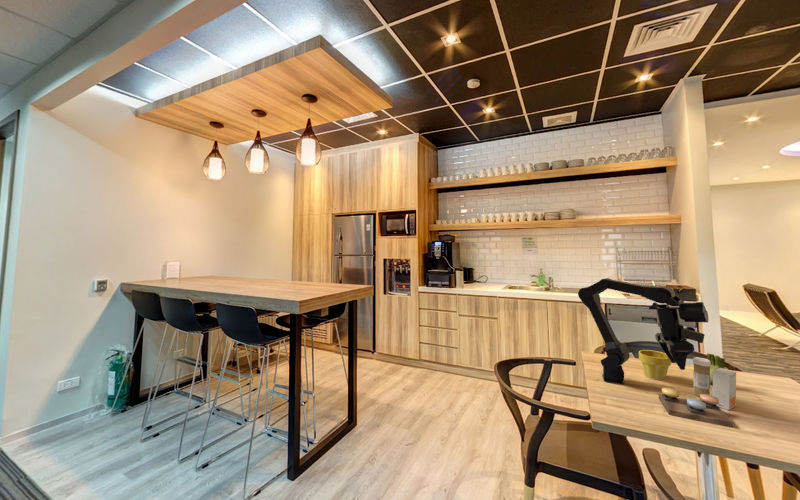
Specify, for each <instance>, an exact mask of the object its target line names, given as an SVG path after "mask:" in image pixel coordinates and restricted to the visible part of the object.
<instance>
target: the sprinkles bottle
mask: <svg viewBox="0 0 800 500" xmlns="http://www.w3.org/2000/svg"><path fill="white" fill-rule="evenodd" d="M692 363H693V379H692V380H693V392H692V393H693V394H694V396H697V397H699V398H700V394H707V395H711V384H710V366H711V362H710V360H708V359H707V358H703V357H697V356H696V357H693V358H692Z"/></svg>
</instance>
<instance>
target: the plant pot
mask: <svg viewBox="0 0 800 500" xmlns="http://www.w3.org/2000/svg"><path fill="white" fill-rule="evenodd" d="M638 359H639V361H640V362H641V367H642V370H643V375H644V376H645V377H647V378H649V379H651V380H654V381H664V380H666V376H667V374H668V370H669V367H670V366H671V365H672V362H671V361H670V359H669V358H668V356H667V355H666V353H665V352H662V351H658V350H657V351H656V350H650V349H642V350H639V351H638Z"/></svg>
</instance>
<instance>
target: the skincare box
mask: <svg viewBox="0 0 800 500" xmlns="http://www.w3.org/2000/svg"><path fill="white" fill-rule="evenodd" d="M712 396H714V397H716V398H718V399H719V404H716V405H717V406H718V407H719V408H720V409H721V408H722V409H723V410H727V411H729V410H732V409H733V408H735V407H736V404H737V403H736V398H737V371H733V370H730V369H726V368H724V369H723V368H719V369H716V370H714V371H713V385H712Z"/></svg>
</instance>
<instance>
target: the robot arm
mask: <svg viewBox="0 0 800 500" xmlns="http://www.w3.org/2000/svg"><path fill="white" fill-rule="evenodd" d="M608 289H609V290H612V291H618V292H620V293H621V292H623V293H626V294H632V295H635V296H641V297H643V298H645V299H647V300H650V301H653V303H652V305H650V306H649V307H648V309H649V310H656V315H657V319H658V323H657V326H658V327H659V330H660V332H657V333H656V334H655V335H654V337H655V341H657V344H658V345H659V346H660V348H661V349H662V351H663V353H665V354H666V355H667V356H668V358H669V359H670V361H671V364H672V363H676V365H677V366H678V368H679V369H680V370H681V371H685V369H686V364H687V363H686V362H687V358H688V356H689V354H691V353H694V352H695V351H696V350H695V347H694V344H692V343H691V342H689V341H688V340H690V341H695V342H697V343H699V344H703V343H704V338H705V333H703V332H699V331H696V329H695V327H692V326H685V327H684V325H682V324H681V322H680V320H682V321H684V323H709V313H708V310H707V308H706V306H705V304H704V302H703V301H697V302H696V301H695V302H685V301H684V300H682V299H681V298H680V297H679V296H678V295H676V292H675V291H674V289H673V288H672V287H670V286H663V285H643V284H638V283H637V284H636V283H631V282H626V281H621V280H617V279H613V278H612V279H611V278H609V277H607V278H602V279H600V280H599V281H597V282H595V283H594V284H591V285H590V286H586V287H582V288H580V289H579V290H578V292H577V296H578V298H579V299H580V301H581V302H582V303H583V304H584V305H585V307H586V308H587V309H588V310H589V312H590V314H591V316H592V318H593V320H594V322H595V324H596V326H597V329H598V331H599V332H600V335H601V337H602V339H603V341H604V348H605V349H604V350H605V353H606V357H604V358H603V359H601V360H600V363H601V365H602V375H601V376H602V380H603V382H606V383H612V384H617V385H624V382H625V370H624V368H623V365H624V363H626V362H627V361H629V359H630V358H631V357H630V356H631V355H630V353H631V351H630V350H629V349H628V347H627V344H626V342H621V341H620V340H619V339H618V338H617V336H616V334H615V332H614V330H613V328H612V326H611V324H610V322H609V320H608V317H607V316H606V314H605V312H604V310H603V307H602V304H601V301H602V300H601V296H600V294H602V293H604V292H605V291H606V290H608ZM687 339H688V340H687Z"/></svg>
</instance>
